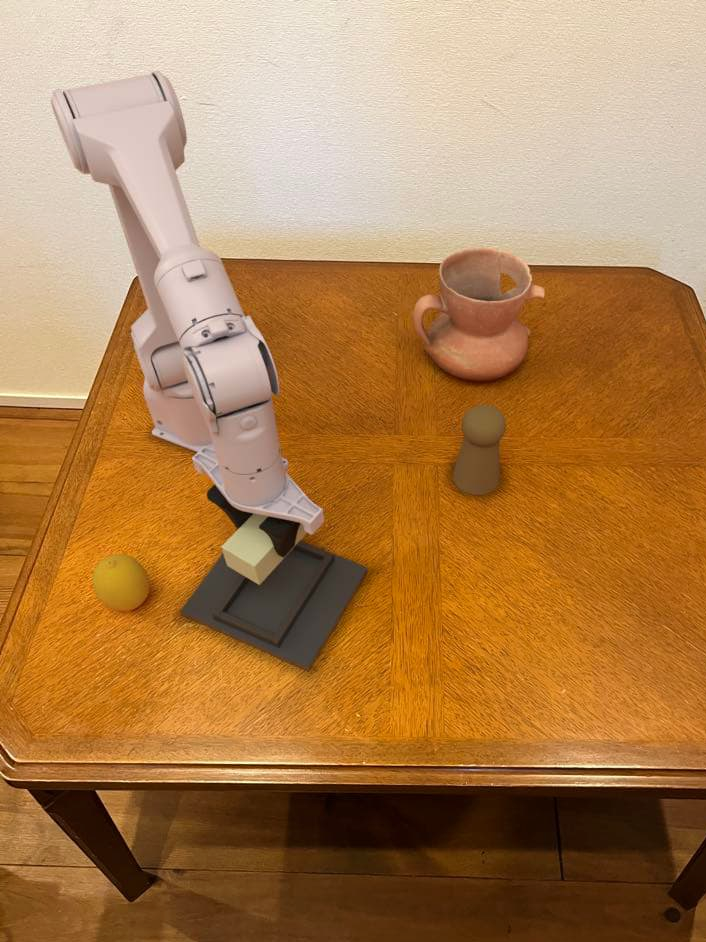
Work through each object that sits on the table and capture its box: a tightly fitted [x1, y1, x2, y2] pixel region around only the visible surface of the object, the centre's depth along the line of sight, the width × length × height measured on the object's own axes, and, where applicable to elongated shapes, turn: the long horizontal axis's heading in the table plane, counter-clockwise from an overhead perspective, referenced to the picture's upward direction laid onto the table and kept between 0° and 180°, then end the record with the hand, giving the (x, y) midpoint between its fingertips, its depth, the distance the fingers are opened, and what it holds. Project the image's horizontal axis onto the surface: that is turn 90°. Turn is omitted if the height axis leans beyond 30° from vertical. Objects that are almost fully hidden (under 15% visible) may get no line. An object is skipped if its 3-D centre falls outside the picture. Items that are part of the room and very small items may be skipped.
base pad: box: [179, 540, 369, 673], centre depth 83 cm, size 16×14×2 cm
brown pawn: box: [452, 404, 507, 496], centre depth 90 cm, size 6×6×11 cm
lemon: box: [92, 553, 151, 613], centre depth 79 cm, size 6×6×8 cm
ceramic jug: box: [412, 247, 546, 382], centre depth 102 cm, size 18×14×14 cm
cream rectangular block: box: [220, 514, 308, 585], centre depth 77 cm, size 4×9×4 cm, turn 147°
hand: (268, 539), depth 78 cm, fingers closed on cream rectangular block, 4 cm apart
